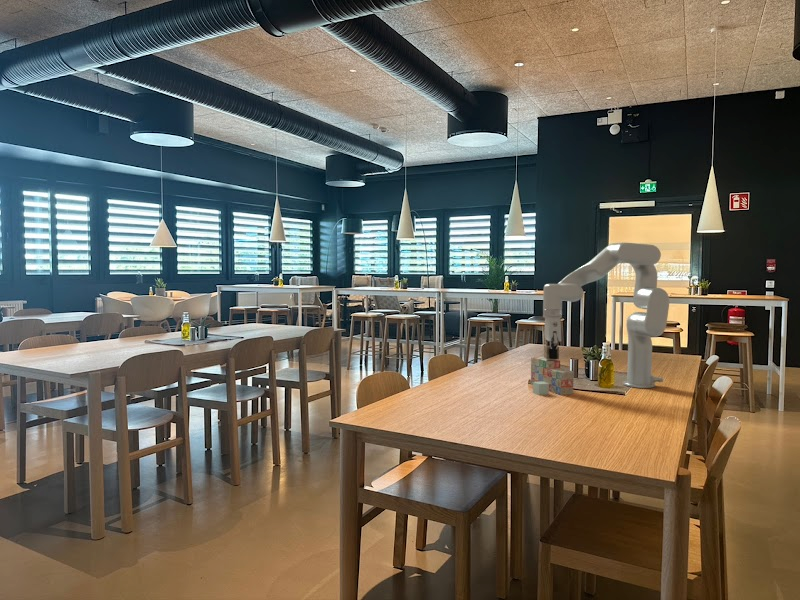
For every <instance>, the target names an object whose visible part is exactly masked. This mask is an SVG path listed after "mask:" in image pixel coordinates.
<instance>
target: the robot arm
mask: <svg viewBox="0 0 800 600" xmlns="http://www.w3.org/2000/svg"><path fill="white" fill-rule="evenodd" d="M661 256H662V255H661V250H660V248H658V247H657V246H656V245H654V244H645V243H633V242H615V243H610V244H608V245H607V246H606V247H604V248H603V249H602V250H601V251H600V252H599V253H598V254H597V255H595V256H594V257H593V258H592V259H591V260H590V261H588V262H586V263H585V264H584V265H582V266H581V267H578V268H577V269H575V270H574V271H572V272H570V273H569V274H567V275H566V276H565V277H564V278H563V279H561V280H560V281H559V282H558V283H546V284H544V286H543V292H542V293H543V299H542V302H543V303H542V317H543V318H544V331H543V332H544V333H543V334H544V339H545V340H546V342H545V345H547V346H550V349H549V358H550V359H555V360H558V359H557V346H558V342H559V343H560V342H562V322H561V319H562V317H563V302H568V303H569V302H571V303H573V302H578V301H580V300H581V299H582V298H583V297H584V290H583V288H582V287H583V286H585V285H588V284H589V283H593V282H596V281H598V280H601V279H603V278H604V277H605V276H606V275H608V273H609V272H611V271H612V270H613V269H614V268H615V267H616V266H617V265H619V264H630V266H631V267H632V268H633V270H634V273H635V283H634V290H633V295H632V296H633V297H632V299H633V300H632V301H633V302H632V303H633V304H634V306H635V307H636V308H638V309H642V310H646V312H645V311H644V312H643V311H635V312H633V313H631V314H630V315H629V316H628V317H627V318H626V319H627V320H626V332H627V367H626V368H627V369H626V371H627V373H626V374H627V375H626V379H624V380H623V382H622V384H623V386H626V387H630V388H639V389H652V388H655V386H656V384H655V383H656V382H658V383H663V382H664V377H660V376H659V377H658V376H654V375H652V364H653V363H652V361H653V341H652V338H655V337H656V338H657V337H659V336H662V335H663V334H664V332H665V330H666V328H667V322H668V316H669V309H670V297H669V294H668V292H667V291H666V290H665V289H663V288H661V287H658V272H657V271H658V270H657V268H656V266H655V265H656V264H658V263H659V262H660V259H661Z"/></svg>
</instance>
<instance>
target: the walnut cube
mask: <svg viewBox="0 0 800 600" xmlns="http://www.w3.org/2000/svg"><path fill="white" fill-rule="evenodd" d="M549 349H550V346H547V345H546V344H545V345H543V357H544V358H546V359H550V358H549ZM559 359H560V346H558V345H557V359H556V360H559Z"/></svg>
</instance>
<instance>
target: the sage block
mask: <svg viewBox="0 0 800 600" xmlns="http://www.w3.org/2000/svg"><path fill="white" fill-rule="evenodd" d="M549 392H550V391H549V383H546V382H543V381H541V382H533V385H532V393H533V394H535V395H537V396H547V395H550V393H549Z"/></svg>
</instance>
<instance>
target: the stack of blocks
mask: <svg viewBox="0 0 800 600" xmlns="http://www.w3.org/2000/svg"><path fill="white" fill-rule="evenodd" d="M574 373H575V372H574V371H573V370H570V369H565V368H561V360H559V359H546V358H544V356H534V357H533V356H532V357H530V385H531V386H533V382H541V381H543V382H546V383H549V392H551V393H553V394H556V395H559V396H564V395H565V396H566V395H567V396H568V395H573V394H574V379H575V374H574Z"/></svg>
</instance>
